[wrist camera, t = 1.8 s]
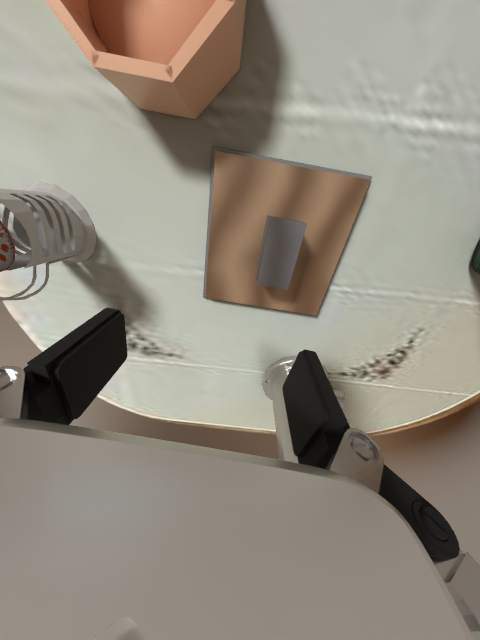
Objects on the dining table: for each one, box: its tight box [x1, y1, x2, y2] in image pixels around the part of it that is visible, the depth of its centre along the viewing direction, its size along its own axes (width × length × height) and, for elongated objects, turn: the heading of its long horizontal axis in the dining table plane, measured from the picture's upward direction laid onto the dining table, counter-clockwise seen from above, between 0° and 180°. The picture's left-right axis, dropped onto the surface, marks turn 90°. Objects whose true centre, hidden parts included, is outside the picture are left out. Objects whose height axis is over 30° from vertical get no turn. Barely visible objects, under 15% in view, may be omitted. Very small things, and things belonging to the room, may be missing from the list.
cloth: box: [205, 151, 371, 315], centre depth 23 cm, size 17×17×6 cm
